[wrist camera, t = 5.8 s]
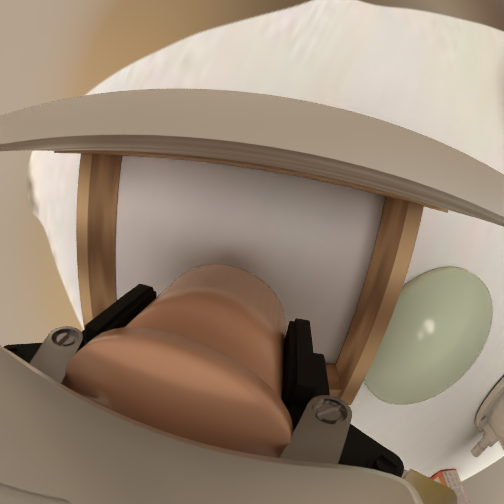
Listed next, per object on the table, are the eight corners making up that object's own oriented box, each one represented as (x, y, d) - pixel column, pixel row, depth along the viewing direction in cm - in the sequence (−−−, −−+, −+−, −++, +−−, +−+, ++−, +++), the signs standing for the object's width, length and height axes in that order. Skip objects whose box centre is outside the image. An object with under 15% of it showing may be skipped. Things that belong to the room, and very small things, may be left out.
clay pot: (277, 389, 12) (264, 507, 6) (157, 360, 13) (92, 453, 6) (309, 271, 11) (331, 390, 4) (159, 242, 11) (42, 307, 5)
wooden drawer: (343, 375, 20) (372, 518, 7) (109, 325, 21) (14, 422, 8) (401, 185, 16) (568, 217, 3) (113, 141, 17) (-48, 132, 4)
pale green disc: (448, 394, 20) (451, 400, 19) (338, 396, 20) (340, 404, 19) (503, 278, 16) (510, 282, 15) (393, 252, 17) (398, 256, 16)
